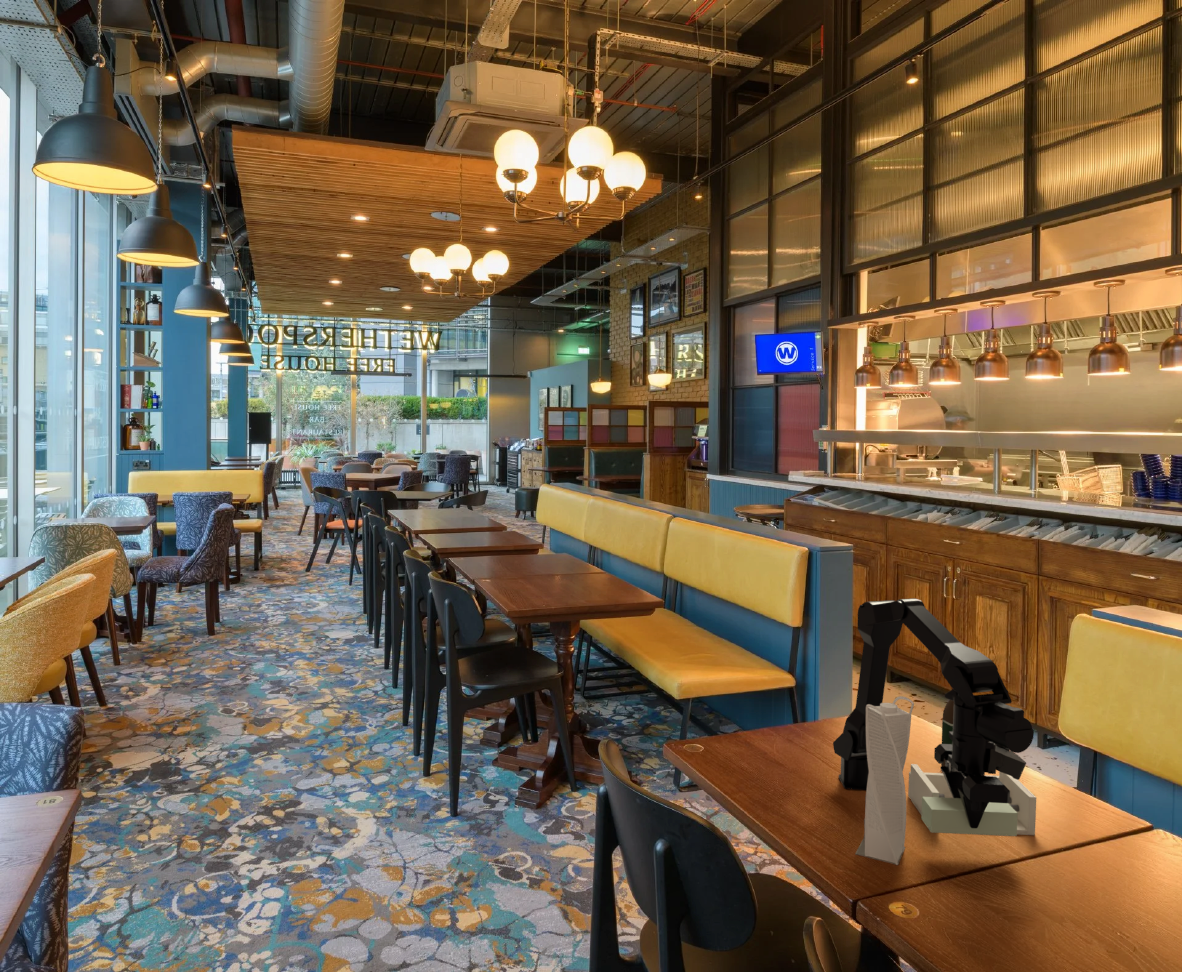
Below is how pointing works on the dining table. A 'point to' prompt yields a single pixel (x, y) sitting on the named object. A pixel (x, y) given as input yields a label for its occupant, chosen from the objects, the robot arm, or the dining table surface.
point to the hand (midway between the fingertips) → (968, 820)
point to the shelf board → (953, 819)
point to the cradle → (1019, 794)
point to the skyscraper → (886, 782)
